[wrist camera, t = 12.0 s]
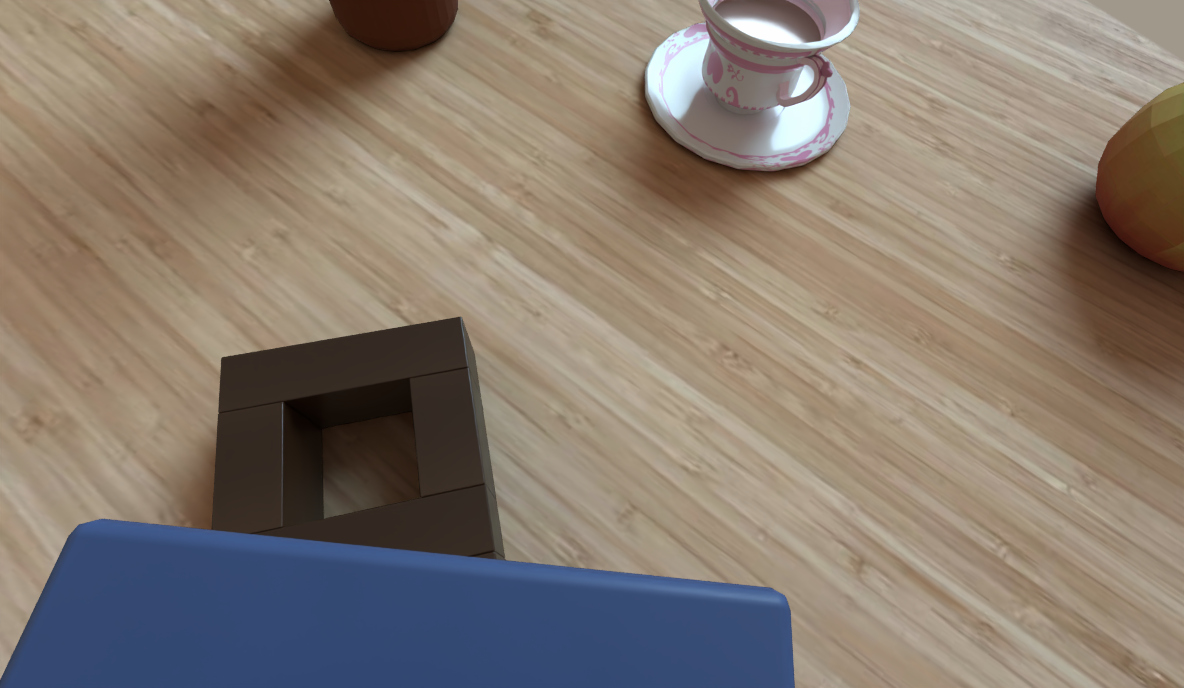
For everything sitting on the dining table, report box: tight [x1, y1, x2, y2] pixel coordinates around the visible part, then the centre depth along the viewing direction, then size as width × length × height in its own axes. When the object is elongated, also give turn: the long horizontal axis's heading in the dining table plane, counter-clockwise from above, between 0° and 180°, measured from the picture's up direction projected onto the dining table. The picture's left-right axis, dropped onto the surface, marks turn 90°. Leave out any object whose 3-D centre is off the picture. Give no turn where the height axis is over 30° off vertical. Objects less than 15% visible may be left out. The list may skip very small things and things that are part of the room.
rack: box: [212, 317, 505, 560], centre depth 19 cm, size 15×9×4 cm, turn 13°
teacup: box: [645, 0, 860, 171], centre depth 29 cm, size 12×12×6 cm
